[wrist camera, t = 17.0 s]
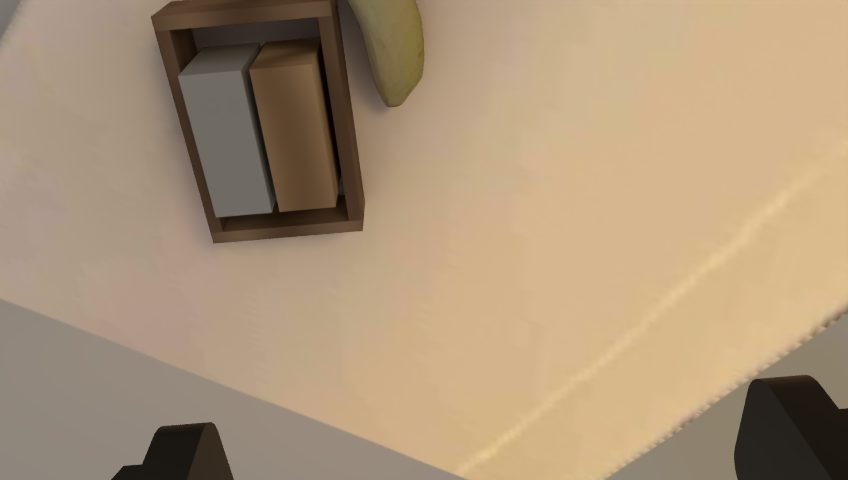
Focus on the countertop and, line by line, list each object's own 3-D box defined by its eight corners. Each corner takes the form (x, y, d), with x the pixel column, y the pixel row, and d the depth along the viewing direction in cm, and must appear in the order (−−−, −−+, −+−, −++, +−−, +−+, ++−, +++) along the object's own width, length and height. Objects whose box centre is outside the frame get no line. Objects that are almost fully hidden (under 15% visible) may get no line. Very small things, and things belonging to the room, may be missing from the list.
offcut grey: (259, 42, 43) (240, 70, 38) (285, 171, 48) (271, 212, 42) (203, 47, 43) (177, 76, 38) (235, 175, 48) (215, 217, 42)
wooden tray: (335, -13, 41) (329, 0, 38) (365, 202, 49) (362, 230, 45) (171, 1, 41) (150, 16, 38) (226, 214, 49) (213, 243, 45)
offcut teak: (322, 36, 43) (311, 64, 38) (342, 166, 47) (335, 207, 42) (266, 41, 43) (249, 69, 38) (292, 170, 48) (279, 212, 42)
